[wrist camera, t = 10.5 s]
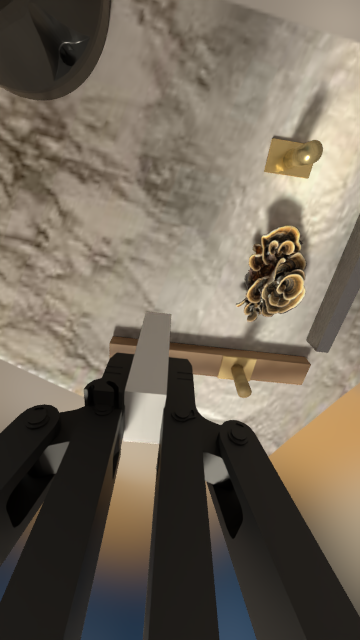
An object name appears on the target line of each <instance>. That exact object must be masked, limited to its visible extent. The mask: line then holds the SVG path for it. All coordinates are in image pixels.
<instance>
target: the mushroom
mask: <svg viewBox="0 0 360 640" xmlns="http://www.w3.org/2000/svg"><path fill="white" fill-rule="evenodd" d="M301 236H302V235H301V234H300V233H299V231H298V229H297V228H296V227H293V226H287V225H286V226H283V227H278V228H276V229H274V230H272V231H271V232H269V233H268V234H267V235H263V236H262V237H261V241H262V242H261V243H262V246H261V245H260V244H254V245H253V251H255V254H254V255H251V256H250V258H249V266H250V267H251V268H250V270H248V271H249V272H248V274H246V276H245V281H246V286H247V290H248V291H247V294H246V298H245V299H244V300H243V301H242V302H241V303H236V306H237V307H239V306H241V305H242V304H244V303H246V305H245V308H244V313H245V315H248V318H247V322H252V321H255V320H256V319H257V317H258V316H259V315H263V316H265V317H271V316H273V315H274V314H276V313H280V314H282V313H286V312H288V311H289V310H291V309H293V308H295V307H296V306H297V305H298V304H299V303H300V302H301V301H302V299H303V298H304V296H305V294H306V290H305V287H304V280H305V273H304V271H302V270H304V269H305V267H306V260H305V259H304V257H303V256H302V254H301V253H299V252H300V250H301V244H303V243H300V242H301V241H300V240H299V238H300V237H301ZM250 309H251V311H250Z"/></svg>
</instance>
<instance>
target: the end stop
mask: <svg viewBox="0 0 360 640" xmlns="http://www.w3.org/2000/svg"><path fill="white" fill-rule="evenodd" d="M359 288H360V215H359V217H358V220H357V222H356V224H355V227H354V229H353V231H352V234H351V236H350V238H349V241H348V243H347V245H346V248H345V250H344V253H343V255H342V257H341V260H340V262H339V264H338V267H337V269H336V271H335V274H334V276H333V278H332V281H331V283H330V285H329V288H328V290H327V292H326V295H325V297H324V299H323V302H322V304H321V307H320V309H319V311H318V314H317V316H316V318H315V321H314V323H313V325H312V328H311V330H310V332H309V335H308V337H307V339H306V341H307V342H308V343H309V344H310V345H311V346H312V347H313V348H314V350H315V351H317V352H326V353H328V352H329V350H330V348H331V346H332V344H333V342H334V340H335V338H336V336H337V334H338V332H339V330H340V327H341V325H342V323H343V321H344V319H345V317H346V315H347V313H348V311H349V309H350V307H351V305H352V303H353V301H354V299H355V297H356V295H357V293H358V290H359Z"/></svg>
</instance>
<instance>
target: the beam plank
mask: <svg viewBox="0 0 360 640" xmlns="http://www.w3.org/2000/svg"><path fill="white" fill-rule="evenodd" d="M138 340H139V339H133V338H124V337H115V336H113V337H112V339H111V341H110V358H111V357H112V356H113V355H114V354H116V353H117V352H118V353H128V354H135V351H136V347H137V344H138ZM169 357H173V358H183V359H188V360H189V362H190V363H191V365H192V369H193V374H196V375H206V376H216V377H218V378H221V379H231V380H234V382H235V386H236V389H237V392H238V395H239V396H240V397H242V398H246V397H248V396H250V395H251V393H252V391H251V388H250V386H249V383H248V381H250V380H256V381H266V382H276V383H286V384H296V385H302V383H303V381H304V379H305V376H306V374H307V372H308V370H309V368H310V366H311V364H310V363H309V362H308V360H307V359H306V358H305V357H301V356H292V355H283V354H273V353H264V352H255V351H245V350H236V349H227V348H217V347H208V346H199V345H189V344H180V343H171V342H170V344H169Z"/></svg>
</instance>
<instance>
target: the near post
mask: <svg viewBox="0 0 360 640" xmlns="http://www.w3.org/2000/svg"><path fill="white" fill-rule="evenodd" d="M322 152H323V147H322V144H321V142H319V141H318V140H312V141H310V142H307V143H305V144H304V143H298V142H292V141H286V140H280V139H274V138H273V139H272V141H271V146H270V150H269V154H268V158H267V162H266V166H265V170H264V172H269V173H275V174H281V175H288V176H294V177H301V178H309V175H310V172H311V169H312V166H313V163H315V162H317V161H318V160H319V159H320V157H321V155H322Z"/></svg>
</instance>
